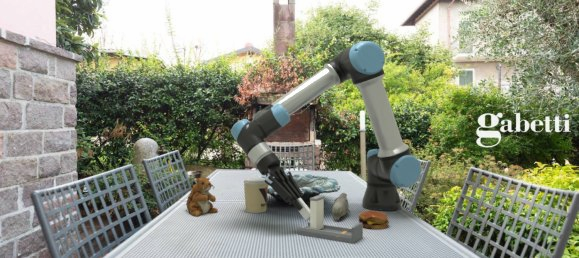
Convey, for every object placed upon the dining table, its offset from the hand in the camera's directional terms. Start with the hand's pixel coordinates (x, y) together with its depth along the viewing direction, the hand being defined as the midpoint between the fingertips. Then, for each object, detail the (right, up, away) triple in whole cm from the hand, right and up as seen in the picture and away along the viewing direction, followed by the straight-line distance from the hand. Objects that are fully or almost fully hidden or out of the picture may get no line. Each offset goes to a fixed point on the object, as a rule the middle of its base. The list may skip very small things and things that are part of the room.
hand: (309, 217), depth 129 cm
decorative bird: (+12, -5, +22) cm, 26 cm away
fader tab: (+2, -3, -1) cm, 4 cm away
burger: (+21, -5, +9) cm, 24 cm away
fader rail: (+6, -5, -3) cm, 8 cm away
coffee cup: (-19, -4, +31) cm, 37 cm away
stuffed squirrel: (-40, -4, +29) cm, 50 cm away
